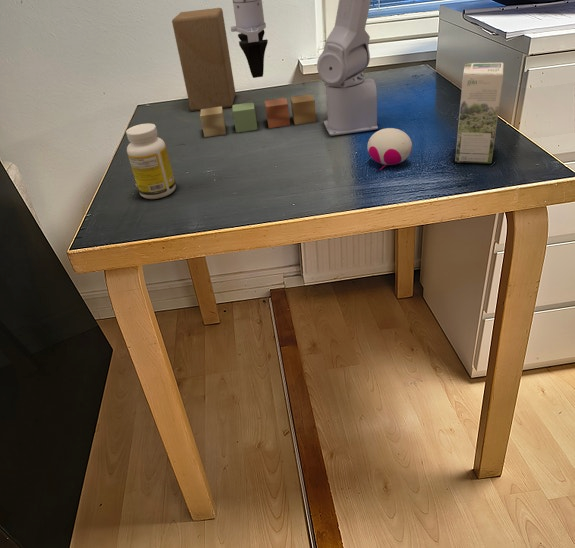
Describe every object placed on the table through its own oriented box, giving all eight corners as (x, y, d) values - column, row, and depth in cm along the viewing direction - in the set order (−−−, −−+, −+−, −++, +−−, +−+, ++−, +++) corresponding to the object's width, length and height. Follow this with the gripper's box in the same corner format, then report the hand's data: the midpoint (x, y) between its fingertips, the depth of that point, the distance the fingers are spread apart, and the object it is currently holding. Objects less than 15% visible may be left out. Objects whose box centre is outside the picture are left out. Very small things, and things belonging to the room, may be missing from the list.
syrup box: (492, 150, 87) (504, 60, 79) (491, 165, 83) (504, 71, 74) (457, 149, 89) (465, 61, 81) (454, 163, 85) (462, 71, 76)
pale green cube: (256, 122, 111) (253, 101, 109) (257, 130, 108) (254, 108, 105) (235, 125, 111) (232, 104, 109) (236, 132, 108) (232, 111, 105)
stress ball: (365, 181, 90) (352, 159, 85) (382, 142, 92) (370, 119, 86) (405, 187, 86) (394, 165, 81) (422, 147, 88) (413, 122, 82)
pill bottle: (161, 180, 91) (144, 119, 85) (183, 188, 88) (168, 124, 81) (132, 195, 88) (113, 132, 81) (155, 203, 84) (136, 138, 78)
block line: (313, 115, 112) (311, 93, 109) (316, 121, 108) (314, 100, 105) (204, 130, 111) (200, 109, 109) (204, 137, 107) (200, 115, 105)
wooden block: (232, 107, 122) (216, 14, 111) (190, 111, 123) (171, 19, 111) (236, 95, 130) (222, 7, 119) (197, 99, 131) (179, 11, 119)
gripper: (226, -2, 107) (237, 66, 115) (227, 8, 95) (238, 83, 103) (260, -7, 107) (268, 62, 115) (265, 3, 95) (273, 79, 103)
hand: (256, 72), depth 109 cm, fingers open, 7 cm apart
